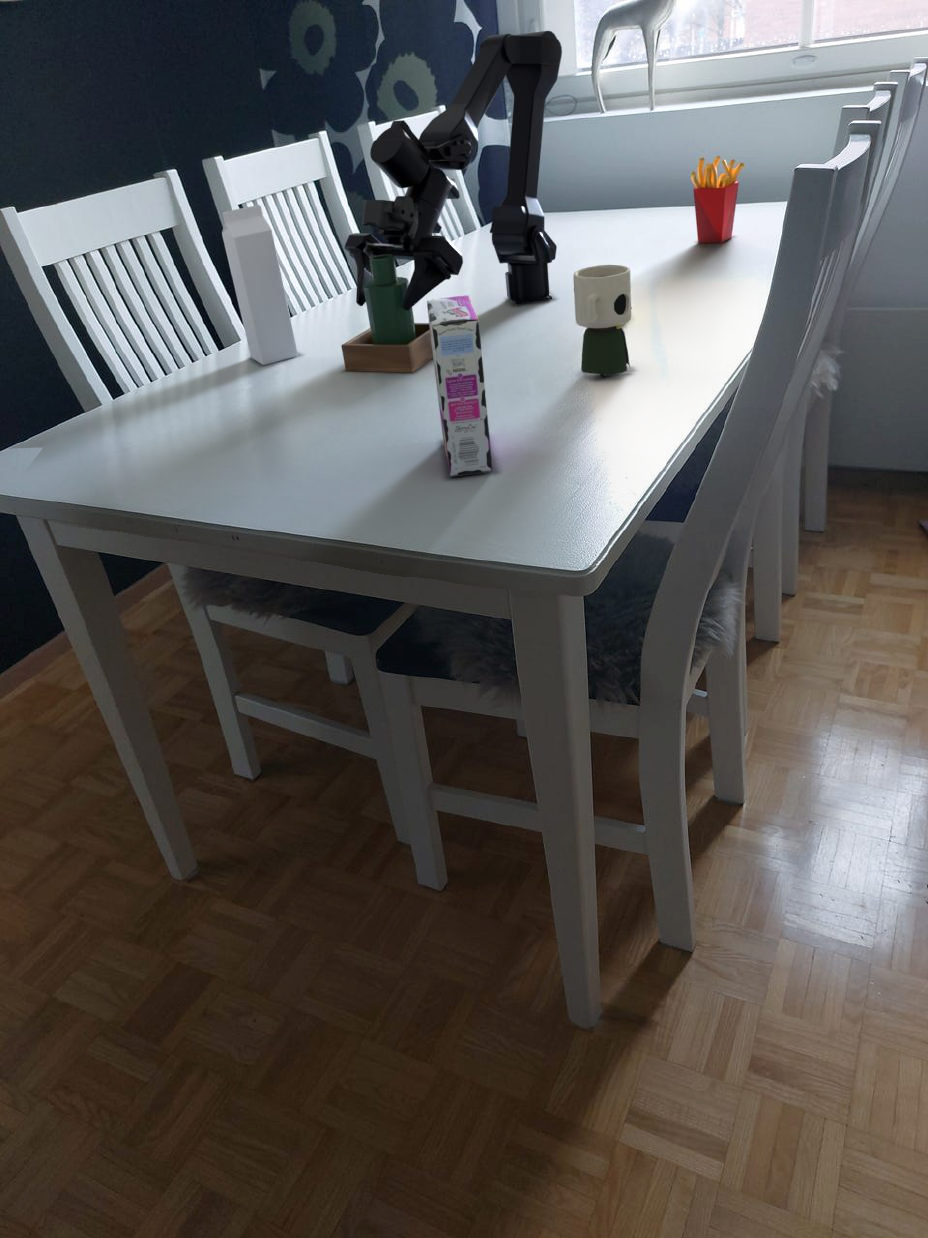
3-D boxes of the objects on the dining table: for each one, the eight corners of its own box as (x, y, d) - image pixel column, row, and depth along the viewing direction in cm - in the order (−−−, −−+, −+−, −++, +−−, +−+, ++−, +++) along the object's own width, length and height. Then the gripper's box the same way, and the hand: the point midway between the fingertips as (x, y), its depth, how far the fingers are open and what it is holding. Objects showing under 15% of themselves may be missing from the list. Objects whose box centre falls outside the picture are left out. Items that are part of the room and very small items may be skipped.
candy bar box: (496, 472, 101) (480, 318, 92) (450, 479, 101) (429, 325, 92) (485, 435, 111) (469, 292, 102) (443, 441, 111) (423, 298, 102)
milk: (298, 356, 149) (268, 206, 137) (262, 365, 146) (228, 213, 135) (285, 348, 153) (254, 202, 141) (250, 357, 151) (216, 209, 139)
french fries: (705, 235, 188) (707, 152, 180) (745, 235, 184) (749, 150, 176) (686, 245, 182) (687, 160, 174) (727, 246, 178) (730, 159, 170)
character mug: (620, 387, 119) (617, 281, 112) (566, 386, 122) (560, 282, 115) (642, 360, 127) (641, 259, 120) (591, 359, 130) (587, 260, 123)
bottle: (422, 347, 142) (408, 250, 135) (412, 360, 137) (397, 260, 130) (381, 349, 144) (366, 253, 136) (370, 363, 139) (353, 264, 131)
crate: (382, 347, 147) (378, 322, 145) (446, 348, 143) (443, 322, 141) (345, 370, 139) (340, 344, 137) (412, 372, 134) (408, 346, 132)
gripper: (341, 173, 136) (300, 272, 135) (439, 171, 125) (395, 278, 124) (387, 220, 145) (349, 313, 144) (482, 222, 134) (442, 322, 133)
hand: (381, 306), depth 136 cm, fingers open, 9 cm apart
